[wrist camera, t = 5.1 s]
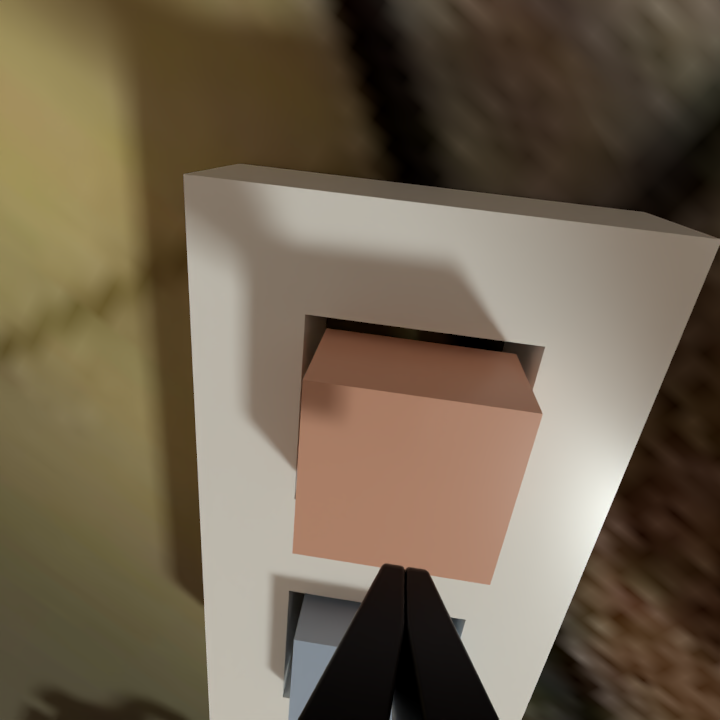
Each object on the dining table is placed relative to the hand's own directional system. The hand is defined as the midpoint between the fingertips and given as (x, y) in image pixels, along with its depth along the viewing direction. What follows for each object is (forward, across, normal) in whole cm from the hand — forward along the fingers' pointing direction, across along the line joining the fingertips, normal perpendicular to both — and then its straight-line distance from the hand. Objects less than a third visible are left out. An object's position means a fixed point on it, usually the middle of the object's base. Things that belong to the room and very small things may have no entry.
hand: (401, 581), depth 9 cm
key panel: (+9, 0, +5) cm, 10 cm away
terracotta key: (+5, 0, 0) cm, 5 cm away
